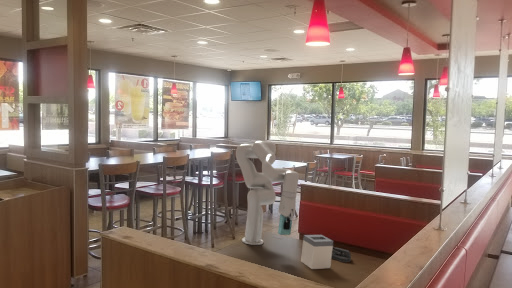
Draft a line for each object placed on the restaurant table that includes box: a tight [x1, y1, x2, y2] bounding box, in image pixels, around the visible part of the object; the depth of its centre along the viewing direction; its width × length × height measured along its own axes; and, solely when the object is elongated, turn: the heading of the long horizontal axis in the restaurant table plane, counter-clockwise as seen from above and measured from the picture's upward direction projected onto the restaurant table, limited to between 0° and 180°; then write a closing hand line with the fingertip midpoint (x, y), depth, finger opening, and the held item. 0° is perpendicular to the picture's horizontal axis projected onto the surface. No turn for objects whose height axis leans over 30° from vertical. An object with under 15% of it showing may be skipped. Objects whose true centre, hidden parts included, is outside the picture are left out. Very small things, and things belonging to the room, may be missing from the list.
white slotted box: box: [300, 234, 334, 270], centre depth 205 cm, size 11×11×14 cm
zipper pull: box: [331, 246, 352, 263], centre depth 223 cm, size 9×7×25 cm
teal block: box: [277, 214, 293, 236], centre depth 211 cm, size 3×6×10 cm, turn 113°
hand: (284, 228), depth 211 cm, fingers closed on teal block, 3 cm apart
